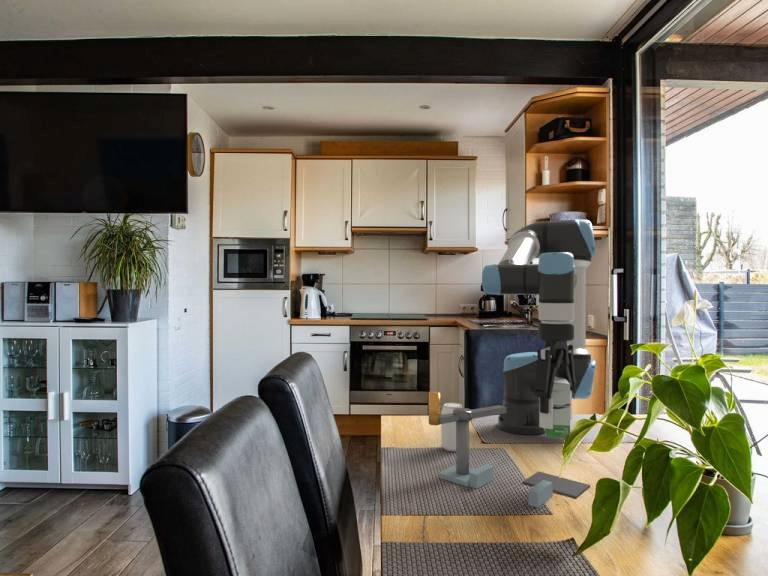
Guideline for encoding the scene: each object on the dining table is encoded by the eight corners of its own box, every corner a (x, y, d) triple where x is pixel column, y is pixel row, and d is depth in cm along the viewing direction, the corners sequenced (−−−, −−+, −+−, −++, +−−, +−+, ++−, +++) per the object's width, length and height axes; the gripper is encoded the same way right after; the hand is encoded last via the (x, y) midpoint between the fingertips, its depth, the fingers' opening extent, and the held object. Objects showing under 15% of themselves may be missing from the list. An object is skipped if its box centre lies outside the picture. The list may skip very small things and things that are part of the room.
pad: (538, 473, 117) (538, 471, 117) (590, 486, 109) (590, 484, 109) (522, 483, 111) (522, 481, 111) (576, 498, 103) (576, 496, 103)
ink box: (571, 439, 105) (571, 383, 105) (547, 437, 106) (546, 382, 106) (564, 427, 114) (564, 376, 114) (542, 426, 115) (542, 375, 115)
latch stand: (457, 467, 121) (457, 413, 121) (553, 495, 105) (553, 433, 105) (438, 477, 115) (438, 420, 115) (536, 508, 99) (536, 442, 99)
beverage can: (462, 453, 131) (462, 408, 131) (439, 451, 133) (439, 406, 133) (465, 446, 137) (465, 402, 137) (443, 444, 139) (443, 401, 139)
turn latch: (424, 422, 112) (424, 391, 112) (496, 409, 123) (496, 381, 123) (435, 427, 108) (435, 395, 108) (509, 413, 119) (509, 384, 119)
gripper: (559, 319, 121) (559, 410, 121) (516, 324, 105) (516, 430, 105) (591, 320, 116) (591, 416, 116) (551, 325, 99) (551, 437, 100)
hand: (556, 422), depth 110 cm, fingers closed on ink box, 9 cm apart
